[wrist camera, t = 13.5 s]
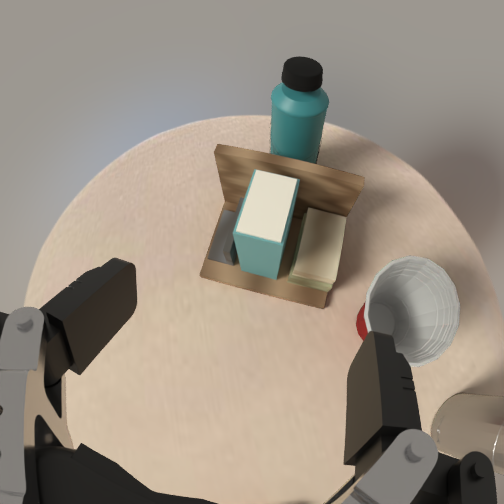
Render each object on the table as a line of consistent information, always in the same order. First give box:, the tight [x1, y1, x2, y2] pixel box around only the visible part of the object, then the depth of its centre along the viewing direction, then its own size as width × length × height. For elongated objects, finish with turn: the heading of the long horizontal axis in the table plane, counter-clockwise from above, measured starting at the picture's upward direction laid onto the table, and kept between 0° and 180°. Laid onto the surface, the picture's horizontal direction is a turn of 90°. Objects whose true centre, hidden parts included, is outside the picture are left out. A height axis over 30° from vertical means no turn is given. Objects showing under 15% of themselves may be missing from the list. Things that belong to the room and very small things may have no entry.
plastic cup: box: [356, 255, 460, 367], centre depth 30 cm, size 11×11×12 cm
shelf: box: [200, 144, 364, 309], centre depth 34 cm, size 16×12×12 cm
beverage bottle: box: [269, 57, 329, 164], centre depth 34 cm, size 6×7×20 cm
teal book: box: [233, 169, 300, 280], centre depth 33 cm, size 4×7×12 cm, turn 164°
